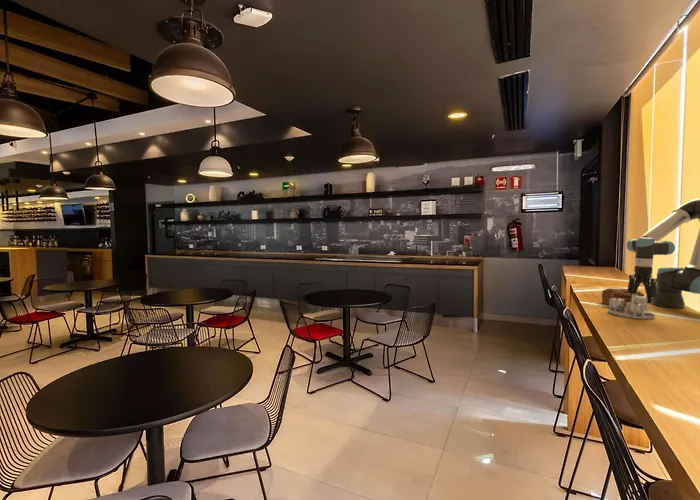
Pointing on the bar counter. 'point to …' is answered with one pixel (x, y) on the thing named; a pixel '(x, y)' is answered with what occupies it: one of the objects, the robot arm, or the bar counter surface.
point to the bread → (617, 295)
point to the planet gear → (638, 299)
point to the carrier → (629, 309)
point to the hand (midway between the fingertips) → (640, 307)
